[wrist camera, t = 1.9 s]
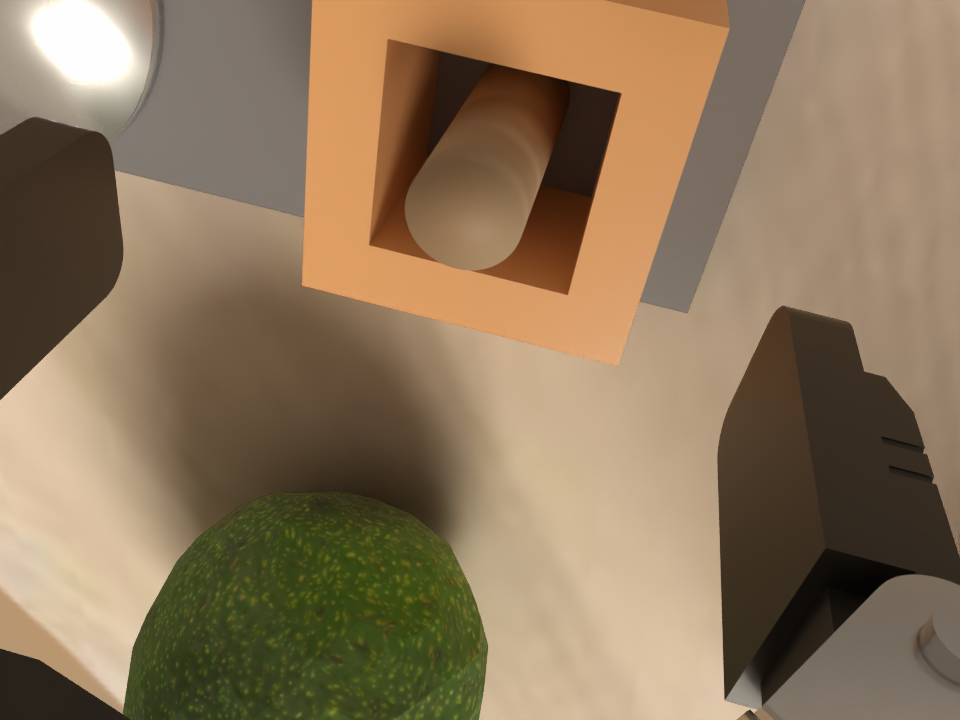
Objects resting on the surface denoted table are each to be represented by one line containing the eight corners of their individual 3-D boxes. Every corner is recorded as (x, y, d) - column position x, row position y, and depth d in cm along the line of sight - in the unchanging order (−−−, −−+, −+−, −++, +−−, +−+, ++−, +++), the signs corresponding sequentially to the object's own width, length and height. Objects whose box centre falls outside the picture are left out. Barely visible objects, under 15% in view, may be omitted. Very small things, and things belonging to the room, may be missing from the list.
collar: (723, -33, 15) (729, 28, 12) (631, 260, 18) (617, 366, 15) (394, -105, 15) (314, -66, 12) (368, 194, 19) (302, 285, 16)
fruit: (386, 723, 35) (294, 1013, 27) (165, 615, 33) (-2, 886, 25) (582, 522, 26) (529, 869, 18) (287, 363, 24) (89, 661, 16)
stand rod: (579, 60, 16) (534, 176, 12) (559, 148, 17) (511, 282, 13) (488, 39, 16) (411, 145, 12) (474, 127, 17) (399, 254, 13)
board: (824, -92, 15) (835, -78, 14) (688, 280, 20) (687, 313, 19) (-232, -317, 17) (-304, -322, 16) (-122, 79, 22) (-169, 99, 20)
